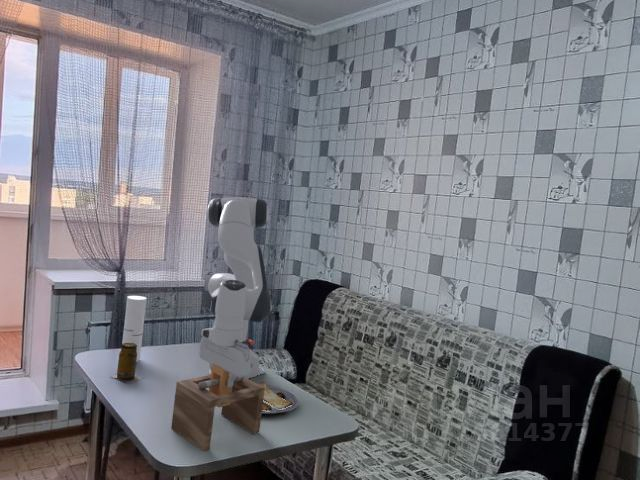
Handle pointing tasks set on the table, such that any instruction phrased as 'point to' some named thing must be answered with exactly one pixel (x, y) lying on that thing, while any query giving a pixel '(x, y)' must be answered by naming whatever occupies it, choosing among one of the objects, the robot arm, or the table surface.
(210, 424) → the wooden slider frame
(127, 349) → the condiment
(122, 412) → the table surface
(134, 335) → the cylindrical container
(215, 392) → the orange forked block
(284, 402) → the food plate
